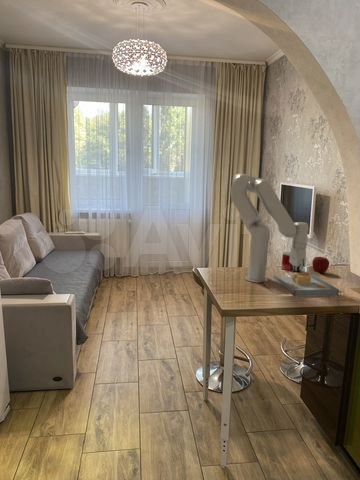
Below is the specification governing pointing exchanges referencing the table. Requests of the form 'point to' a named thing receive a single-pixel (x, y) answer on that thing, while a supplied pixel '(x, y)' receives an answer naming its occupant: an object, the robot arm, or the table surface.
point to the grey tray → (308, 287)
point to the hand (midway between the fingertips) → (296, 277)
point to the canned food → (286, 262)
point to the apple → (320, 264)
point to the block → (301, 278)
